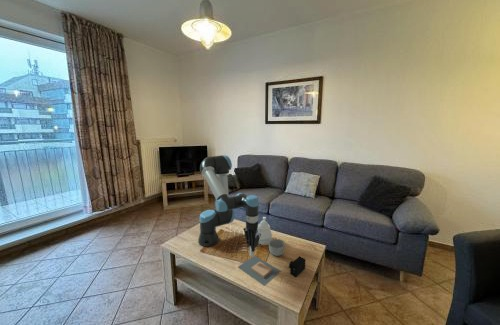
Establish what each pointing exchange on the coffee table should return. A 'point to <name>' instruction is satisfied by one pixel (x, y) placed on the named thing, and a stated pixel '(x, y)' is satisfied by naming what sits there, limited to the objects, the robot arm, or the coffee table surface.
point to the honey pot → (264, 232)
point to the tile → (261, 269)
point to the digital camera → (297, 266)
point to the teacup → (276, 247)
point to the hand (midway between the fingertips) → (251, 255)
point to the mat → (247, 269)
